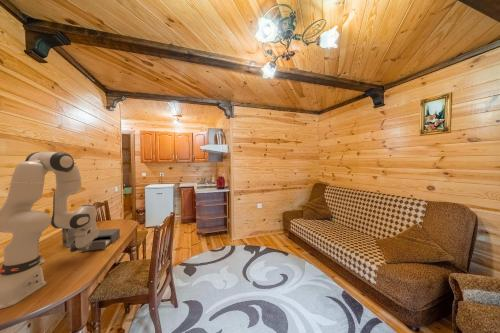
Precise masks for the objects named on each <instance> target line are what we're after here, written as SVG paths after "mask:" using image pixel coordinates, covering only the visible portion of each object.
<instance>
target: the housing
mask: <svg viewBox="0 0 500 333" xmlns="http://www.w3.org/2000/svg"><path fill="white" fill-rule="evenodd" d="M98 231H99V235H98V237H96V238H95V239H94V240H104V239H111V242H110V243H109V244H108V245H112V244H114V243H115V242H116V241H117V240H118V239H119V238H120V235H121V234H120V231H121V230H120V228H111V229H109V228H108V229H106V228H105V229H98Z"/></svg>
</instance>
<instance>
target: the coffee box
mask: <svg viewBox="0 0 500 333" xmlns="http://www.w3.org/2000/svg"><path fill="white" fill-rule="evenodd" d="M61 229H62V230H61V231H62V232H61V233H62V238H61V240H62V246H64V247H65V248H67V249H68V248H70V245H72V244H75V238H76V236H75V232H76V231H77V230H78V228H77V229H67V228H61Z"/></svg>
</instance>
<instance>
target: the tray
mask: <svg viewBox="0 0 500 333" xmlns="http://www.w3.org/2000/svg"><path fill="white" fill-rule="evenodd" d="M94 241H96V242H94ZM110 242H111V239H104V240H92V244H91V248H89V249H87V250H86V248H85V246H84V247H83V248H78V250H77V251H78V252H83V251H95V250H96V251H97V250H104V249H106V248H107V247H106V246H108V245H110V244H109V243H110Z"/></svg>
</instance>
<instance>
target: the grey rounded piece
mask: <svg viewBox="0 0 500 333" xmlns="http://www.w3.org/2000/svg"><path fill="white" fill-rule="evenodd" d="M69 248H70V252H71V253H72V252H73V253H74V252H77V251H78V248H76V245H75V244H72V245H70V247H69Z"/></svg>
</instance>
